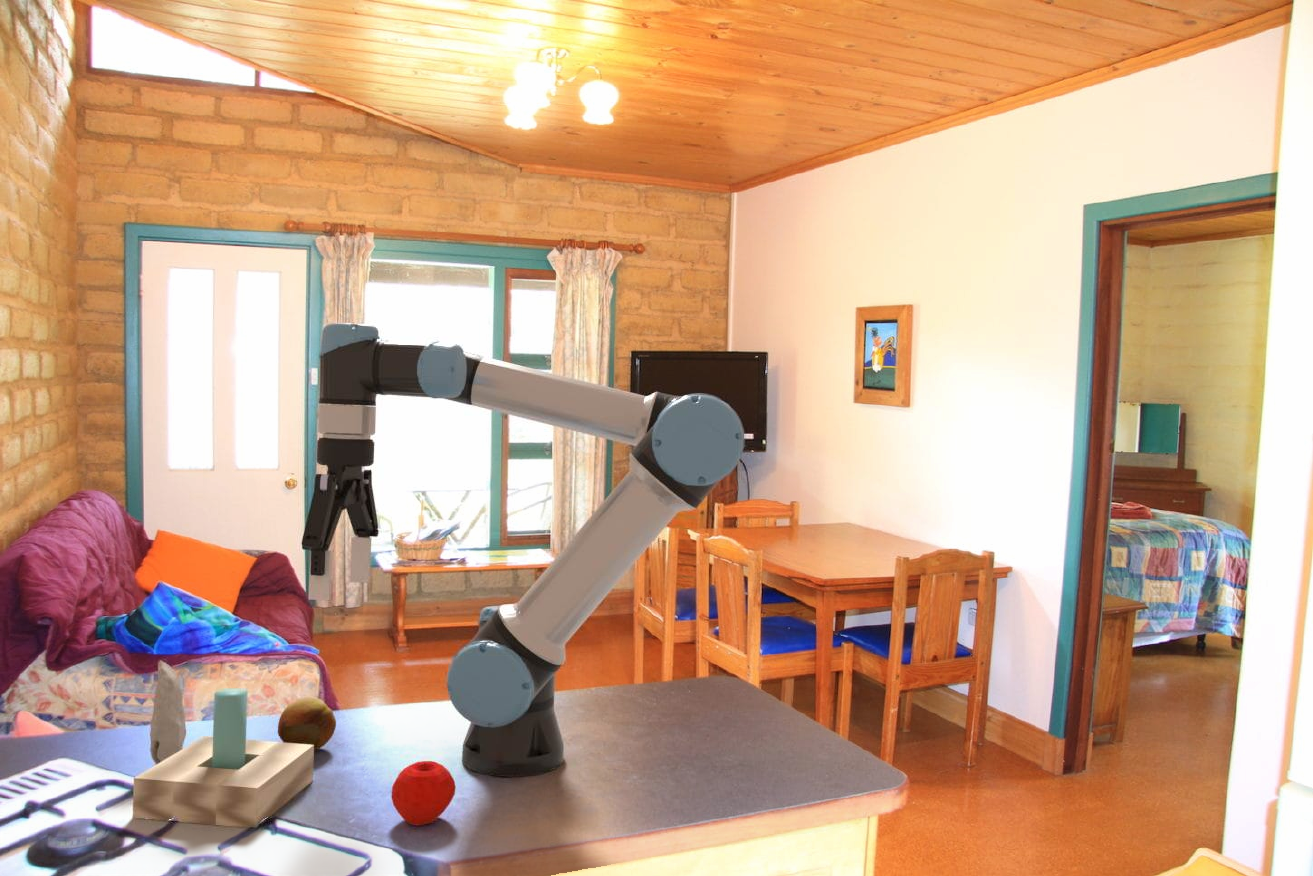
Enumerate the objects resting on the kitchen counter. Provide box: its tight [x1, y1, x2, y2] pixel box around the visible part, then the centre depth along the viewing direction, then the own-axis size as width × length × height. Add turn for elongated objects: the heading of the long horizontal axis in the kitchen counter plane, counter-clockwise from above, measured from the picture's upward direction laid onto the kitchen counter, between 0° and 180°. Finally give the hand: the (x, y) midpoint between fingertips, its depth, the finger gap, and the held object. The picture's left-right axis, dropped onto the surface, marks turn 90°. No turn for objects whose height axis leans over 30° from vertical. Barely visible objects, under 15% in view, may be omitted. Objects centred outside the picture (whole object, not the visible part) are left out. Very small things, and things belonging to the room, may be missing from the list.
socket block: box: [132, 736, 315, 829], centre depth 130 cm, size 16×16×5 cm
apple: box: [391, 760, 457, 826], centre depth 126 cm, size 8×8×7 cm
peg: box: [212, 687, 249, 770], centre depth 130 cm, size 4×4×14 cm
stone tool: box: [149, 660, 187, 765], centre depth 140 cm, size 9×3×15 cm, turn 8°
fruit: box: [277, 696, 337, 752], centre depth 149 cm, size 8×8×8 cm
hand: (340, 590), depth 136 cm, fingers open, 13 cm apart
